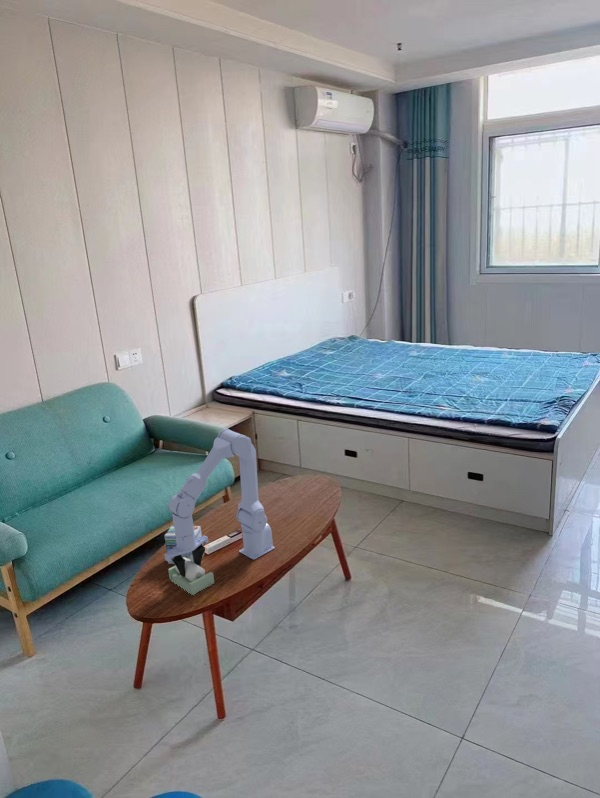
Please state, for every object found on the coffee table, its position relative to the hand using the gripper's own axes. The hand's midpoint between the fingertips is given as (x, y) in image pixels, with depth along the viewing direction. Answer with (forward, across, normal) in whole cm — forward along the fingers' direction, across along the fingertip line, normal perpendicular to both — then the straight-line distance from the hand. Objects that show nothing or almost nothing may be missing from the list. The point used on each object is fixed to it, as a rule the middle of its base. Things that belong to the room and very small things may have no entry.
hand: (190, 571), depth 182 cm
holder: (+4, 0, 0) cm, 4 cm away
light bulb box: (+4, -6, -13) cm, 15 cm away
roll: (-1, 0, 0) cm, 1 cm away
